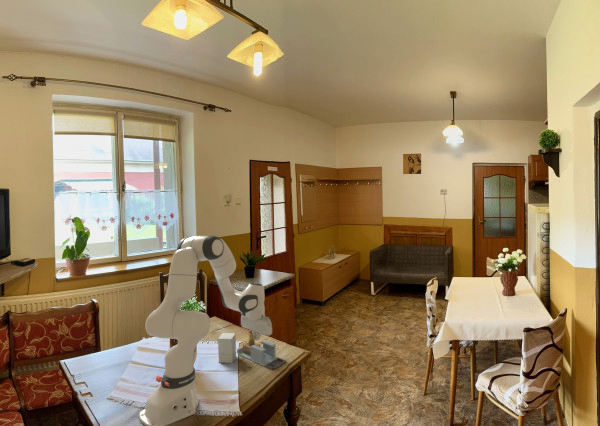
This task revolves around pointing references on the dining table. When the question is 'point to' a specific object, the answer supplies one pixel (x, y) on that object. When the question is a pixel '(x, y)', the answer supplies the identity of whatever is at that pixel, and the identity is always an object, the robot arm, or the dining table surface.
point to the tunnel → (263, 355)
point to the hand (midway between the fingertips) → (256, 339)
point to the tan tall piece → (249, 344)
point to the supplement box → (227, 347)
